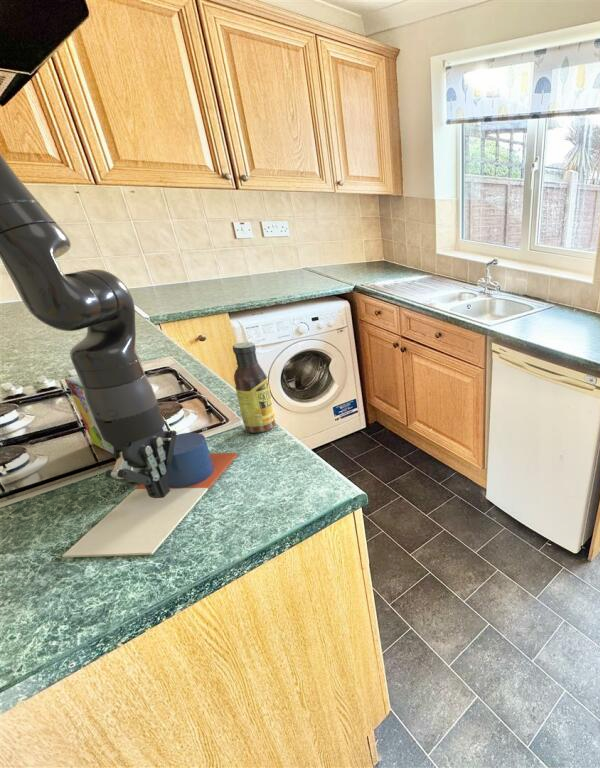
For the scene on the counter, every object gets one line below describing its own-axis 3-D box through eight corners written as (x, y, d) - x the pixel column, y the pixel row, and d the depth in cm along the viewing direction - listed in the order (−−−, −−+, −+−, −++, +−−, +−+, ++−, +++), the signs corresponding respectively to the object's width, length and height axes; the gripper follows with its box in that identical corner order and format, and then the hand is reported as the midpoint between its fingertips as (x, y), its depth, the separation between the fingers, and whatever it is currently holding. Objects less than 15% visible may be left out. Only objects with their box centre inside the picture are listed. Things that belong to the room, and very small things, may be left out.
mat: (62, 557, 61) (61, 555, 61) (174, 455, 84) (174, 453, 84) (152, 554, 62) (151, 552, 62) (237, 454, 86) (237, 453, 86)
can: (154, 488, 75) (142, 456, 72) (179, 463, 81) (168, 433, 79) (201, 487, 76) (191, 455, 73) (221, 462, 83) (213, 432, 80)
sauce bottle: (271, 434, 93) (253, 350, 85) (240, 435, 92) (219, 350, 84) (280, 419, 99) (264, 340, 91) (252, 420, 98) (233, 340, 90)
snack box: (180, 459, 83) (156, 391, 76) (147, 475, 78) (118, 403, 72) (123, 431, 91) (96, 367, 84) (90, 444, 86) (59, 377, 80)
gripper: (130, 387, 70) (163, 472, 77) (59, 428, 58) (106, 524, 65) (178, 387, 70) (206, 471, 78) (118, 427, 58) (158, 522, 66)
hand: (161, 495), depth 71 cm, fingers closed
